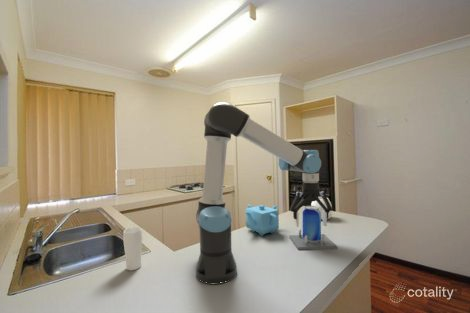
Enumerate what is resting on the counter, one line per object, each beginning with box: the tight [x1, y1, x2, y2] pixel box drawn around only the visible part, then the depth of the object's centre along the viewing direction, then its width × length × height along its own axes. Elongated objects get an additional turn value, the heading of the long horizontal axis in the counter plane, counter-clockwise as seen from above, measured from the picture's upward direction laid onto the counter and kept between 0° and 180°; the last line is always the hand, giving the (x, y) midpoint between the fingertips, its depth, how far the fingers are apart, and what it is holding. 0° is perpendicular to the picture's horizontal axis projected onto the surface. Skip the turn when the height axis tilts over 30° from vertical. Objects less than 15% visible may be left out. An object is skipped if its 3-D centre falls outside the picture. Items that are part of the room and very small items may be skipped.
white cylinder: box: [122, 226, 143, 271], centre depth 86 cm, size 7×7×15 cm
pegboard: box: [288, 228, 338, 251], centre depth 106 cm, size 18×14×5 cm
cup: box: [310, 196, 333, 221], centre depth 143 cm, size 13×13×14 cm
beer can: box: [302, 205, 322, 243], centre depth 106 cm, size 8×8×16 cm
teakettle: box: [243, 203, 280, 237], centre depth 122 cm, size 19×19×15 cm
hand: (310, 225), depth 105 cm, fingers open, 13 cm apart
